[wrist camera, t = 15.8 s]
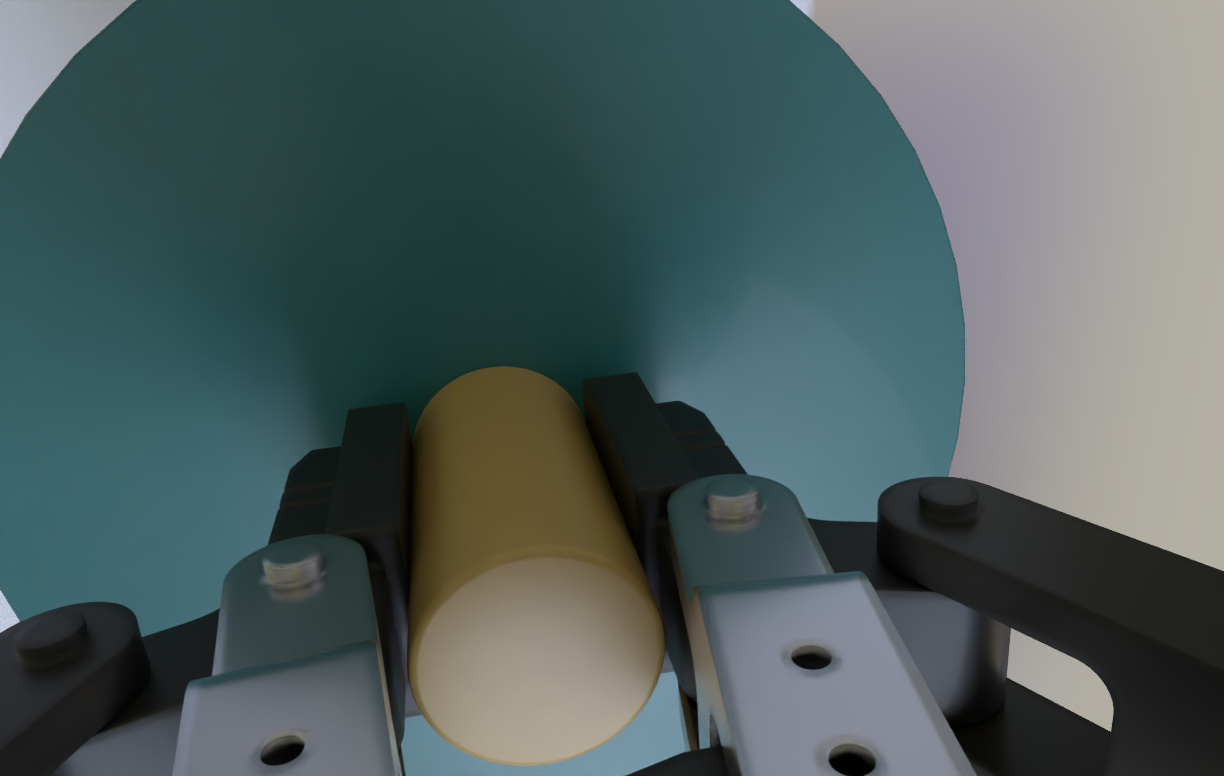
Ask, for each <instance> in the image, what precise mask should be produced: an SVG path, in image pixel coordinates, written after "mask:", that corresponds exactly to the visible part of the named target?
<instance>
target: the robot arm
mask: <svg viewBox="0 0 1224 776" xmlns="http://www.w3.org/2000/svg"><path fill="white" fill-rule="evenodd" d="M583 401H584V412H585V423H586V426H587V428H588V431H589V433H590V436H591V438H592V441H593V443H594V446H595V448H596V451H597V453H598V456H599V458H600V461H601V463H602V466H603V468H604V471H605V473H606V476H607V478H608V481H609V483H610V486H611V488H612V491H613V494H614V496H615V499H616V501H617V504H618V506H619V509H620V511H621V514H622V516H623V519H624V521H625V524H626V526H627V529H628V531H629V534H630V536H631V539H632V541H633V544H634V546H635V549H636V551H637V554H638V556H639V559H640V561H641V564H642V566H643V569H644V571H645V574H646V576H647V579H648V581H649V584H650V586H651V589H652V591H653V594H654V596H655V599H656V601H657V604H658V607H659V609H660V612H661V615H662V619H663V622H664V628H665V635H666V650H665V657H664V663H663V667H662V670H661V674H663V673H669V672H675V674H676V677H677V680H678V694H679V712H680V722H681V728H682V734H683V739H684V745H685V751H686V752H683V753H680V754H678V755H675V756H673V757H670V758H668V759H666V760H663V761H661V762H658V763H656V764H653V765H651V766H648V767H646V768H643V769H641V770H638V771H636V772H633V773H631V774H628V775H626V776H1224V571H1221V570H1219V569H1216V568H1213V567H1210V566H1208V565H1205V564H1202V563H1199V562H1197V561H1194V560H1191V559H1189V558H1186V557H1183V556H1181V555H1178V554H1175V553H1172V552H1170V551H1167V550H1164V549H1161V548H1159V547H1156V546H1153V545H1150V544H1148V543H1145V542H1142V541H1139V540H1136V539H1134V538H1131V537H1128V536H1126V535H1123V534H1120V533H1117V532H1114V531H1112V530H1109V529H1107V528H1104V527H1101V526H1098V525H1095V524H1093V523H1090V522H1087V521H1085V520H1082V519H1079V518H1077V517H1074V516H1071V515H1068V514H1066V513H1063V512H1060V511H1057V510H1055V509H1052V508H1049V507H1046V506H1044V505H1041V504H1038V503H1035V502H1033V501H1030V500H1027V499H1025V498H1022V497H1019V496H1016V495H1014V494H1011V493H1008V492H1005V491H1003V490H1000V489H997V488H994V487H992V486H989V485H986V484H983V483H980V482H976V481H972V480H967V479H961V478H955V477H920V478H914V479H909V480H905V481H901V482H899V483H896V484H894V485H892V486H890V487H889V488H887V489H886V490H885V491H883V492H882V493H881V495H880V497H879V499H878V511H877V522H858V521H828V520H819V519H812V518H807V517H806V515H805V513H804V511H803V509H802V507H801V505H800V503H799V501H798V499H797V497H796V496H795V494H794V493H793V492H792V491H791V490H790V489H789V488H788V487H786V486H784V485H783V484H781V483H779V482H776V481H774V480H771V479H768V478H764V477H760V476H754V475H748V474H747V472H746V471H745V470H744V468H743V467H742V465H741V464H740V463H739V461H738V460H737V458H736V457H735V456H734V454H733V453H732V451H731V450H730V448H729V447H728V446H725V441H724V440H723V439H722V437H721V436H720V434H719V433H718V432H716V429H715V427H714V426H713V424H712V423H711V422H710V420H709V419H708V417H707V416H706V415H705V413H704V412H702V411H700V410H698V409H696V408H694V407H692V406H690V405H687V404H685V403H683V402H681V401H672V402H664V403H657V404H656V403H655V401H654V400H653V398H652V396H651V395H650V393H649V391H648V390H647V388H646V386H645V385H644V383H643V381H642V380H641V378H640V376H639V375H638V373H637V372H631V373H624V374H616V375H608V376H601V377H593V378H585V379H584V380H583ZM412 465H413V444H412V438H411V432H410V425H409V419H408V414H407V409H406V405H405V403H404V402H400V403H392V404H384V405H377V406H369V407H361V408H354V409H349V410H348V413H347V419H346V424H345V429H344V434H343V440H342V445H341V446H338V447H330V448H323V449H315V450H311V451H310V452H309V453H308V454H306V455H305V456H304V457H303V458H302V459H301V460H300V461H299V462H298V463H296V464H295V465H294V466H293V467H292V468H291V469H290V471H289V474H288V477H287V481H286V484H285V488H284V493H283V494H282V498H281V501H280V505H279V507H280V509H278V511H277V515H276V518H275V521H274V525H273V528H272V532H271V535H270V538H269V542H268V545H267V546H265V547H263V548H260V549H259V550H257V551H255V552H253V553H251V554H249V555H248V556H246V557H245V558H243V559H242V560H240V561H239V562H238V563H237V564H235V565H234V566H233V567H232V569H231V570H230V571H229V572H228V574H227V575H226V577H225V579H224V582H223V588H222V596H221V604H220V608H219V609H217V610H216V611H214V612H212V613H209V614H207V615H205V616H203V617H200V618H198V619H195V620H192V621H189V622H187V623H184V624H181V625H178V626H174V627H171V628H168V629H165V630H162V631H159V632H156V633H153V634H150V635H147V636H144V637H142V635H141V631H140V628H139V624H138V621H137V617H136V615H135V614H134V612H133V611H132V610H130V609H129V608H128V607H126V606H123V605H121V604H117V603H112V602H85V603H78V604H72V605H68V606H63V607H59V608H56V609H52V610H49V611H46V612H43V613H40V614H38V615H35V616H32V617H30V618H28V619H26V620H23V621H21V622H19V623H17V624H15V625H13V626H12V627H10V628H8V629H6V630H5V631H3V632H1V633H0V776H407V774H406V768H405V762H404V757H403V752H402V746H401V743H402V741H403V738H404V732H405V718H408V717H414V716H419V715H422V713H421V712H420V710H419V709H418V707H417V705H416V703H415V700H414V698H413V696H412V693H411V689H410V685H409V682H408V674H407V637H408V606H409V585H410V545H411V505H412ZM1011 628H1013V629H1015V630H1017V631H1019V632H1021V633H1023V634H1025V635H1027V636H1029V637H1032V638H1033V639H1036V640H1038V641H1040V642H1042V643H1044V644H1046V645H1048V646H1050V647H1052V648H1054V649H1057V650H1059V651H1061V652H1063V653H1065V654H1067V655H1069V656H1071V657H1073V658H1075V659H1077V660H1079V661H1081V662H1082V663H1084V664H1085V665H1087V666H1088V667H1090V668H1091V669H1092V670H1093V671H1094V672H1095V673H1096V674H1097V675H1098V676H1099V677H1100V678H1101V680H1102V681H1103V682H1104V684H1105V685H1106V687H1107V689H1108V691H1109V693H1110V695H1111V698H1112V701H1113V707H1114V714H1113V722H1112V730H1111V732H1110V731H1108V730H1106V729H1104V728H1102V727H1100V726H1098V725H1096V724H1095V723H1093V722H1091V721H1089V720H1087V719H1085V718H1083V717H1081V716H1079V715H1078V714H1076V713H1074V712H1072V711H1070V710H1068V709H1066V708H1064V707H1062V706H1060V705H1058V704H1056V703H1054V702H1053V701H1051V700H1049V699H1047V698H1045V697H1043V696H1041V695H1039V694H1037V693H1035V692H1034V691H1032V690H1030V689H1028V688H1026V687H1024V686H1022V685H1020V684H1018V683H1016V682H1014V681H1012V680H1011V679H1009V678H1007V666H1008V655H1009V644H1010V632H1011Z"/></svg>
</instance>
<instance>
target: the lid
mask: <svg viewBox="0 0 1224 776" xmlns="http://www.w3.org/2000/svg"><path fill="white" fill-rule="evenodd" d="M631 372H637V373H638V375H639V376H640V378H641V380H642V381H643V383H644V385H645V386H646V388H647V390H648V391H649V393H650V395H651V396H652V398H653V400H654V401H655V403H656V404H657V403H664V402H672V401H681V402H683V403H685V404H687V405H690V406H692V407H694V408H696V409H698V410H700V411H702V412H704V413H705V415H706V416H707V417H708V419H709V420H710V422H711V423H712V424H713V426H714V427H715V429H716V432H718V433H719V434H720V436H721V437H722V439H723V440H724V441H725V446H728V447H729V448H730V450H731V451H732V453H733V454H734V456H735V457H736V458H737V460H738V461H739V463H740V464H741V465H742V467H743V468H744V470H745V471H746V472H747V474H748V475H754V476H760V477H764V478H768V479H771V480H774V481H776V482H779V483H781V484H783V485H784V486H786V487H788V488H789V489H790V490H791V491H792V492H793V493H794V494H795V496H796V497H797V499H798V501H799V503H800V505H801V507H802V509H803V511H804V513H805V515H806V517H807V518H812V519H819V520H828V521H858V522H877V511H878V499H879V497H880V495H881V493H882V492H883V491H885V490H886V489H887V488H889V487H890V486H892V485H894V484H896V483H899V482H901V481H905V480H909V479H914V478H920V477H948V474H949V470H950V465H951V462H952V458H953V454H954V450H955V447H956V443H957V439H958V432H959V424H960V416H961V409H962V401H963V400H962V399H963V393H964V385H965V323H964V316H963V308H962V301H961V294H960V287H959V280H958V273H957V265H956V262H955V258H954V255H953V251H952V248H951V244H950V240H949V237H948V234H947V230H946V226H945V223H944V219H943V216H942V212H941V208H940V206H939V204H938V201H937V199H936V197H935V194H934V192H933V190H932V188H931V185H930V183H929V181H928V178H927V176H926V174H925V171H924V169H923V167H922V165H921V162H920V160H919V158H918V155H917V153H916V151H915V149H914V147H913V146H912V144H911V143H910V141H909V140H908V138H907V136H906V134H905V133H904V131H903V130H902V128H901V126H900V125H899V123H898V122H897V120H896V118H895V117H894V115H893V114H892V112H891V110H890V109H889V107H888V105H887V104H886V102H885V101H884V99H883V97H882V96H881V94H880V93H879V92H878V91H877V90H876V88H875V87H874V86H873V85H872V84H871V82H869V80H868V79H867V78H866V76H865V75H864V74H863V73H862V72H861V71H860V69H859V68H858V67H857V66H856V65H855V63H854V62H853V61H852V60H851V59H850V57H849V56H848V55H847V54H846V53H845V51H844V50H843V49H842V48H841V47H840V45H839V44H838V43H836V42H835V41H834V40H833V39H832V38H831V37H830V36H828V34H826V33H825V32H824V31H823V30H822V29H821V28H820V27H819V26H817V25H816V24H815V23H814V22H813V21H812V20H811V19H810V18H809V17H808V16H806V15H805V14H804V13H803V12H802V11H801V10H800V9H799V8H797V7H796V6H795V5H794V4H793V3H792V2H791V1H790V0H136V1H135V2H133V3H132V4H131V5H130V6H129V7H128V8H127V9H125V10H124V11H123V12H122V13H121V14H120V15H119V16H118V17H117V18H115V19H114V20H113V21H112V22H111V23H110V24H109V25H108V26H106V27H105V28H104V29H103V30H102V31H101V32H100V33H99V34H98V35H96V36H95V37H94V38H93V39H92V40H91V41H90V42H89V43H87V44H86V45H85V46H84V47H83V48H82V49H81V50H80V51H79V52H77V53H76V54H75V55H74V56H73V58H72V59H71V60H70V61H69V63H68V64H67V65H66V66H65V67H64V69H63V70H62V71H61V72H60V74H59V75H58V76H57V77H56V78H55V80H54V81H53V82H52V83H51V85H50V86H49V87H48V88H47V90H46V91H45V92H44V93H43V94H42V96H41V97H40V98H39V99H38V101H37V102H36V103H35V104H34V105H33V107H32V108H31V109H30V110H29V112H28V113H27V114H26V115H25V117H24V119H23V121H22V122H21V124H20V126H19V127H18V129H17V131H16V133H15V134H14V136H13V138H12V139H11V141H10V143H9V145H8V146H7V148H6V150H5V152H4V153H3V155H2V157H1V158H0V590H1V591H2V593H3V595H4V596H5V598H6V599H7V601H8V603H9V604H10V606H11V608H12V609H13V611H14V612H15V614H16V616H17V617H18V619H19V621H20V622H21V621H23V620H26V619H28V618H30V617H32V616H35V615H38V614H40V613H43V612H46V611H49V610H52V609H56V608H59V607H63V606H68V605H72V604H78V603H85V602H112V603H117V604H121V605H123V606H126V607H128V608H129V609H130V610H132V611H133V612H134V614H135V615H136V617H137V621H138V624H139V628H140V631H141V635H142V637H144V636H147V635H150V634H153V633H156V632H159V631H162V630H165V629H168V628H171V627H174V626H178V625H181V624H184V623H187V622H189V621H192V620H195V619H198V618H200V617H203V616H205V615H207V614H209V613H212V612H214V611H216V610H217V609H219V608H220V604H221V596H222V588H223V582H224V579H225V577H226V575H227V574H228V572H229V571H230V570H231V569H232V567H233V566H234V565H235V564H237V563H238V562H239V561H240V560H242V559H243V558H245V557H246V556H248V555H249V554H251V553H253V552H255V551H257V550H259V549H260V548H263V547H265V546H267V545H268V542H269V538H270V535H271V532H272V528H273V525H274V521H275V518H276V515H277V511H278V509H280V507H279V505H280V501H281V498H282V494H283V493H284V488H285V484H286V481H287V477H288V474H289V471H290V469H291V468H292V467H293V466H294V465H295V464H296V463H298V462H299V461H300V460H301V459H302V458H303V457H304V456H305V455H306V454H308V453H309V452H310V451H311V450H315V449H323V448H330V447H338V446H341V445H342V440H343V434H344V429H345V424H346V419H347V413H348V410H349V409H354V408H361V407H369V406H377V405H384V404H392V403H400V402H404V403H405V405H406V409H407V414H408V419H409V425H410V432H411V438H412V444H413V465H412V505H411V545H410V585H409V606H408V637H407V674H408V682H409V685H410V689H411V693H412V696H413V698H414V700H415V703H416V705H417V707H418V709H419V710H420V712H421V713H422V715H419V716H414V717H408V718H405V732H404V738H403V741H402V743H401V746H402V752H403V757H404V762H405V768H406V774H407V776H626V775H628V774H631V773H633V772H636V771H638V770H641V769H643V768H646V767H648V766H651V765H653V764H656V763H658V762H661V761H663V760H666V759H668V758H670V757H673V756H675V755H678V754H680V753H683V752H686V751H685V745H684V739H683V734H682V728H681V722H680V712H679V694H678V680H677V677H676V674H675V672H669V673H663V674H661V670H662V667H663V663H664V657H665V650H666V635H665V628H664V622H663V619H662V615H661V612H660V609H659V607H658V604H657V601H656V599H655V596H654V594H653V591H652V589H651V586H650V584H649V581H648V579H647V576H646V574H645V571H644V569H643V566H642V564H641V561H640V559H639V556H638V554H637V551H636V549H635V546H634V544H633V541H632V539H631V536H630V534H629V531H628V529H627V526H626V524H625V521H624V519H623V516H622V514H621V511H620V509H619V506H618V504H617V501H616V499H615V496H614V494H613V491H612V488H611V486H610V483H609V481H608V478H607V476H606V473H605V471H604V468H603V466H602V463H601V461H600V458H599V456H598V453H597V451H596V448H595V446H594V443H593V441H592V438H591V436H590V433H589V431H588V428H587V426H586V423H585V412H584V401H583V380H584V379H585V378H593V377H601V376H608V375H616V374H624V373H631Z"/></svg>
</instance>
